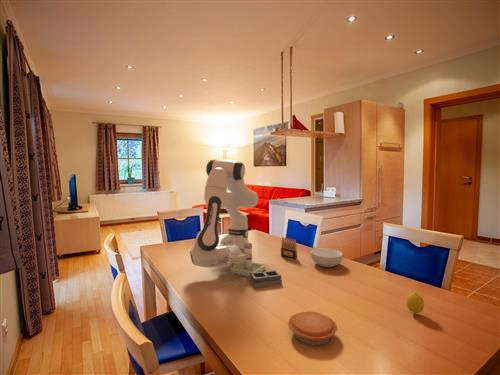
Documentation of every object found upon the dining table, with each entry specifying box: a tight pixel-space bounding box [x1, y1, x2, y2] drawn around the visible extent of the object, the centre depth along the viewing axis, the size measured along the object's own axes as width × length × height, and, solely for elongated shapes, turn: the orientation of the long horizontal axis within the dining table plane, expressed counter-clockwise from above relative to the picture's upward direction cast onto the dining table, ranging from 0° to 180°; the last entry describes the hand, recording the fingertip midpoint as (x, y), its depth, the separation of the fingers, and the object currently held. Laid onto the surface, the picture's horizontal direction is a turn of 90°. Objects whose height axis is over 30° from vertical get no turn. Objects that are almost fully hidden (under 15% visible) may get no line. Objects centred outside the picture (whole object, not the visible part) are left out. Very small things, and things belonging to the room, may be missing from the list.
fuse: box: [243, 242, 253, 271], centre depth 146 cm, size 4×4×14 cm
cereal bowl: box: [310, 247, 343, 268], centre depth 155 cm, size 17×17×7 cm
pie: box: [287, 311, 338, 346], centre depth 92 cm, size 15×16×5 cm
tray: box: [230, 262, 266, 278], centre depth 147 cm, size 14×12×3 cm
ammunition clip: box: [280, 236, 298, 260], centre depth 168 cm, size 11×2×12 cm, turn 47°
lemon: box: [405, 292, 425, 315], centre depth 103 cm, size 6×6×8 cm
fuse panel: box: [249, 269, 283, 289], centre depth 133 cm, size 13×9×4 cm
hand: (249, 252), depth 146 cm, fingers open, 8 cm apart
